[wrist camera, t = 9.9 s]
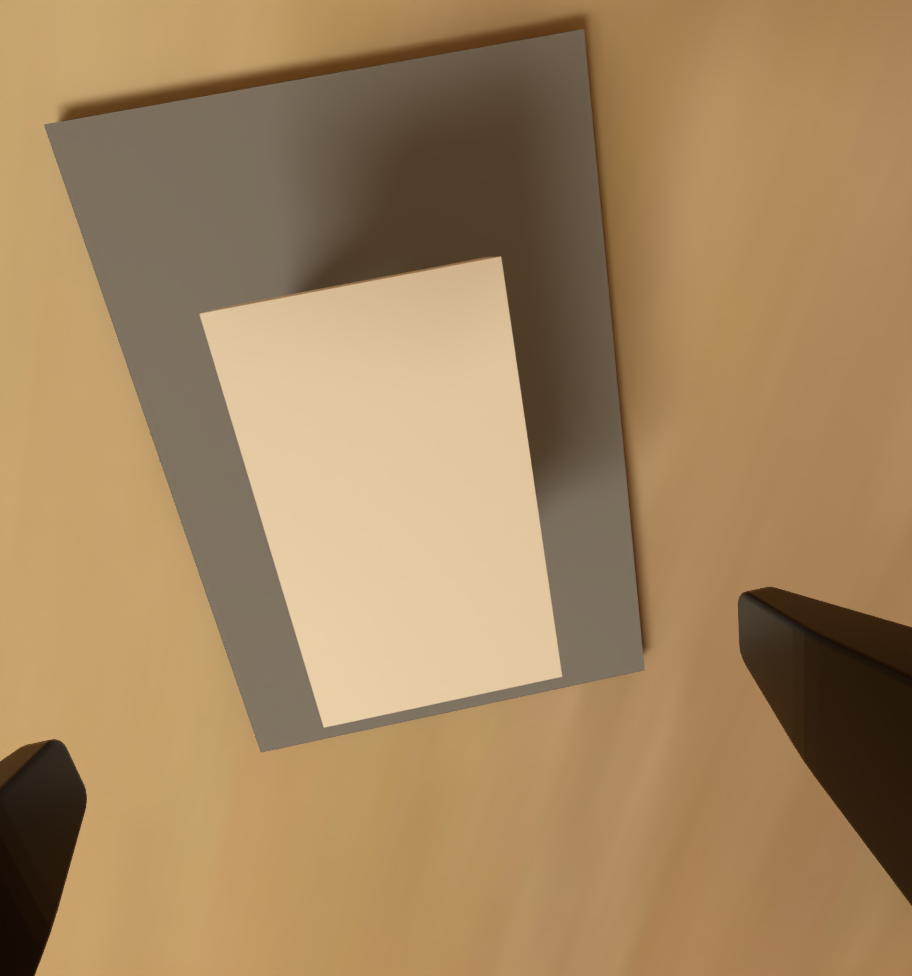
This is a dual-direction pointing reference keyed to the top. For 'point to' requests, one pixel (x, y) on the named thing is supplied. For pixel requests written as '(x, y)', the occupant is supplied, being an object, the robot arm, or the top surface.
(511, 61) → the mat
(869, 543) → the top surface
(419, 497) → the footstool
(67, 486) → the top surface
